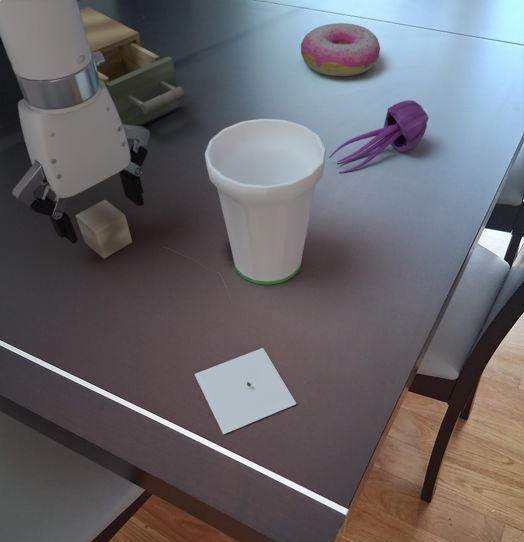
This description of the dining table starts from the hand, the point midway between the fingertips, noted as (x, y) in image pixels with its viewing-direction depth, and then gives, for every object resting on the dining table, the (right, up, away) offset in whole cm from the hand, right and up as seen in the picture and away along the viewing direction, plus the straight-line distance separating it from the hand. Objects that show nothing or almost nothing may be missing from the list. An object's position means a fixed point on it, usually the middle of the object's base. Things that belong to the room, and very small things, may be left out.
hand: (103, 218), depth 70 cm
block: (0, -2, +3) cm, 4 cm away
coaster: (+18, -20, -11) cm, 29 cm away
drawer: (-1, +23, +22) cm, 31 cm away
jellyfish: (+36, +13, +14) cm, 41 cm away
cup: (+20, -5, 0) cm, 21 cm away
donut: (+33, +34, +31) cm, 57 cm away
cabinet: (-9, +29, +28) cm, 41 cm away
